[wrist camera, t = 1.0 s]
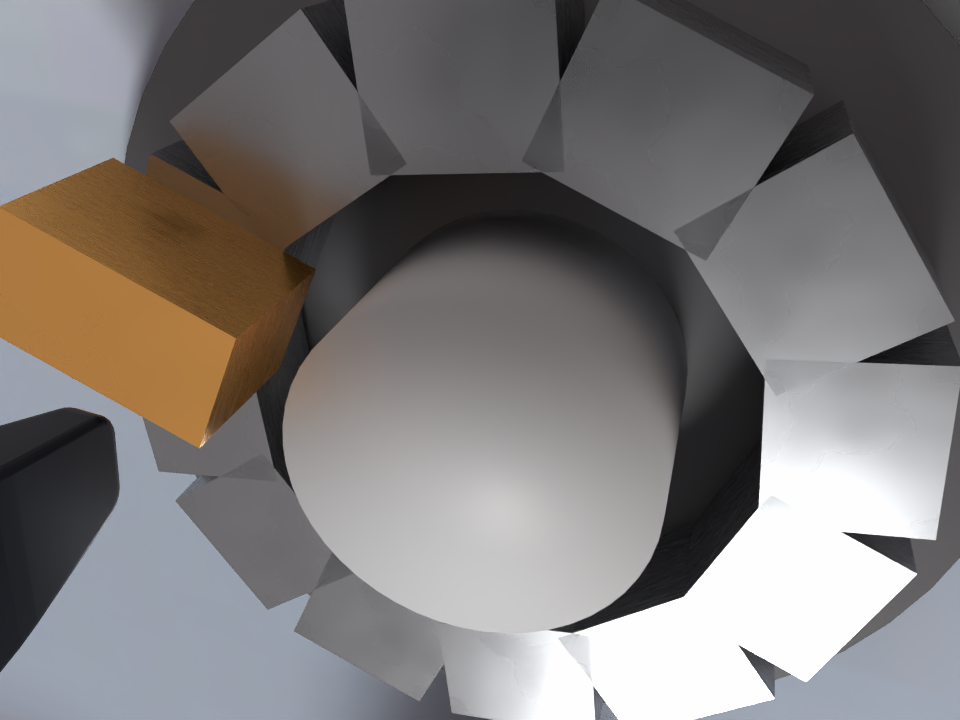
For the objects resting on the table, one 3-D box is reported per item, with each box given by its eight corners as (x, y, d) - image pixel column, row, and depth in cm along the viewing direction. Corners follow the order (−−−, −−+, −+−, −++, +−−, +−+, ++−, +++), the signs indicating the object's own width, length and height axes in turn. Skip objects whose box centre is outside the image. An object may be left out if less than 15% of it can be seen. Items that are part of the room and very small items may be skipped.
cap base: (272, -374, 16) (61, -480, 11) (1317, 175, 15) (1557, 309, 11) (81, 441, 26) (-68, 563, 22) (693, 784, 26) (675, 986, 21)
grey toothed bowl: (271, -221, 16) (62, -260, 11) (1142, 244, 15) (1300, 402, 11) (105, 437, 24) (-53, 570, 20) (661, 749, 24) (634, 959, 19)
